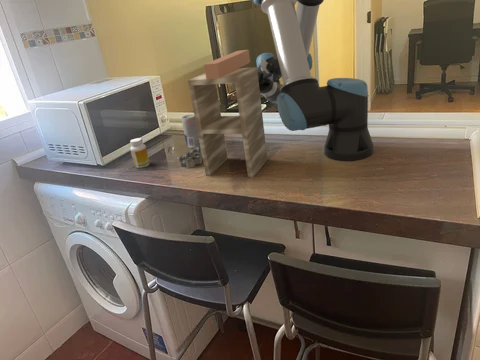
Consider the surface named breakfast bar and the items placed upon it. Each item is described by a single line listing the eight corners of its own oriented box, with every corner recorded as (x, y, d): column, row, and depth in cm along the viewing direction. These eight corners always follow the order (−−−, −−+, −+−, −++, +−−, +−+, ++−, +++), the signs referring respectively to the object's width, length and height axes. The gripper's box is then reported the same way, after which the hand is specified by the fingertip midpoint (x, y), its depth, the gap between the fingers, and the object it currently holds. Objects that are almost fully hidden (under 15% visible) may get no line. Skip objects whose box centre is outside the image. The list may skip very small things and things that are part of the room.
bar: (250, 62, 124) (248, 49, 122) (219, 78, 104) (216, 63, 103) (238, 63, 126) (237, 50, 124) (206, 79, 106) (203, 64, 104)
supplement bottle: (153, 162, 138) (146, 137, 134) (143, 168, 134) (137, 142, 130) (141, 161, 141) (134, 137, 137) (132, 167, 136) (124, 142, 132)
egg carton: (190, 170, 128) (187, 158, 126) (176, 166, 133) (173, 155, 131) (212, 158, 134) (211, 147, 133) (199, 155, 139) (197, 144, 138)
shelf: (267, 159, 126) (256, 67, 113) (252, 177, 115) (239, 77, 102) (223, 158, 132) (209, 70, 120) (205, 175, 121) (187, 80, 108)
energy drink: (193, 143, 152) (187, 114, 147) (203, 144, 149) (198, 114, 144) (184, 148, 148) (178, 118, 143) (194, 149, 145) (188, 119, 140)
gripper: (295, 92, 139) (277, 72, 119) (233, 95, 149) (208, 77, 129) (297, 72, 139) (279, 49, 120) (235, 76, 149) (209, 56, 130)
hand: (242, 63), depth 125 cm, fingers open, 13 cm apart
